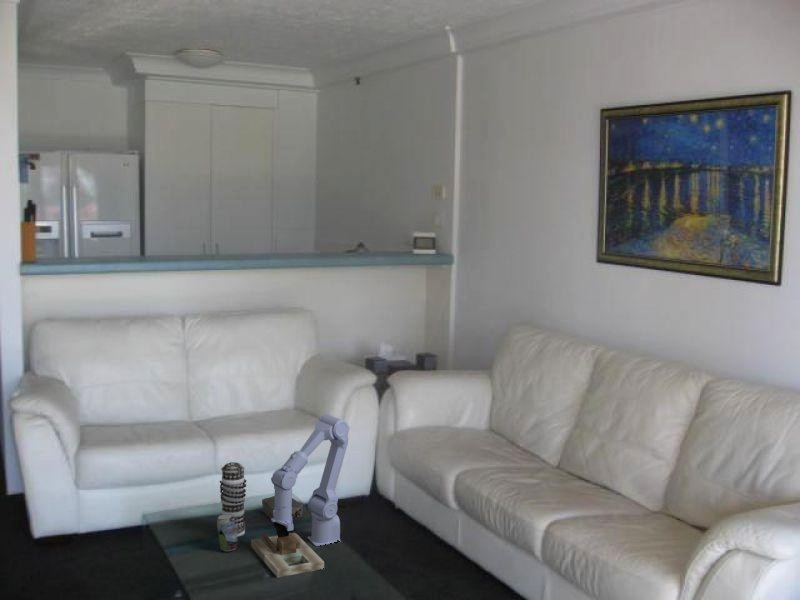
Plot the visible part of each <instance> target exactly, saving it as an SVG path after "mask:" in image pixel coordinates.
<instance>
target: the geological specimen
mask: <svg viewBox="0 0 800 600" xmlns="http://www.w3.org/2000/svg"><path fill="white" fill-rule="evenodd" d="M261 505H262V509H261V511H262V512H263V513H264V514H265V515H266V516H267V517H269V518H270V519H271V518H274V516H273V510H275V495H273V496H270V497H265V498H262V499H261ZM303 507H304V506H303V504H302V503H300V502H299V501H298V500H296V499H295V498H293V497H292V518H294V517H296V518H302V516H303V511H304V510H303Z"/></svg>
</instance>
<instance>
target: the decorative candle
mask: <svg viewBox="0 0 800 600" xmlns="http://www.w3.org/2000/svg"><path fill="white" fill-rule="evenodd" d="M220 471H221V472H222V475H221V480H220V481H219V483H220V484H219V489H220V490H219V492H220V496H219V497H220V503H221V504H222V505H221V506H222V507H221V513H220V516H221V515H224V514H232V515H233V517H234V518H235V524H236V531H237V538H238V537H241V536H244V535H245V533H246V522H245V520H246V513H245V505H244V504H245V502H246V499H245V497H246V496H247V495H246V493H247V489H246V487H247V484H246V483H247V479H246V478H245V467H244V466H243V465H242V464H241V463H239V462H232V461H231V462H227V463H225V464H224V466H223V467H221V468H220Z"/></svg>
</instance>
